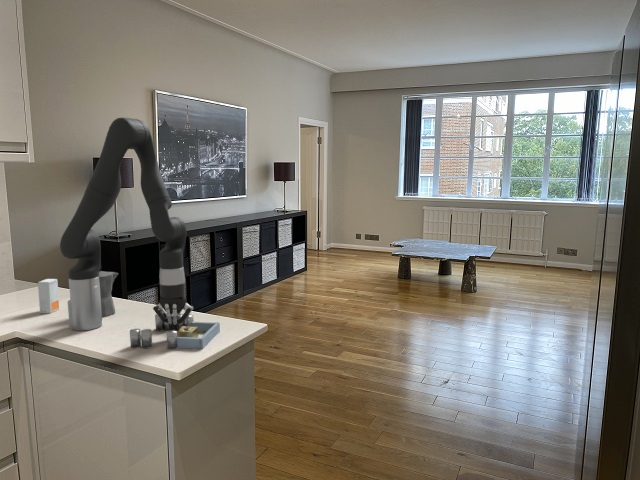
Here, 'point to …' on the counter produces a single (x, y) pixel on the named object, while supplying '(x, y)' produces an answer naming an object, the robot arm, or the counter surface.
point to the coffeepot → (106, 292)
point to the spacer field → (146, 334)
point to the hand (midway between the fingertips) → (174, 334)
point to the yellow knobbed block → (188, 332)
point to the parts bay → (200, 343)
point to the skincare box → (48, 295)
